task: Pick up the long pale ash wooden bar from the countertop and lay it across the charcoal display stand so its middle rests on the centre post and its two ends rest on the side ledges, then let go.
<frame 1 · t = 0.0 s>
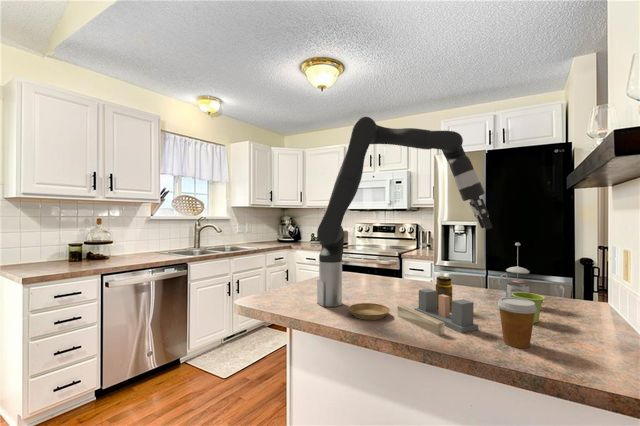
hand: (486, 228, 114), 31 cm above the worktop, tool tilted 20°, fingers open, 8 cm apart
french press: (514, 305, 130), on the worktop
plant pot: (527, 321, 111), on the worktop
plant saucer: (368, 316, 117), on the worktop
ash bar: (419, 325, 107), on the worktop
condiment: (442, 309, 125), on the worktop
disposable coffee cup: (516, 344, 92), on the worktop
display stand: (443, 320, 111), on the worktop
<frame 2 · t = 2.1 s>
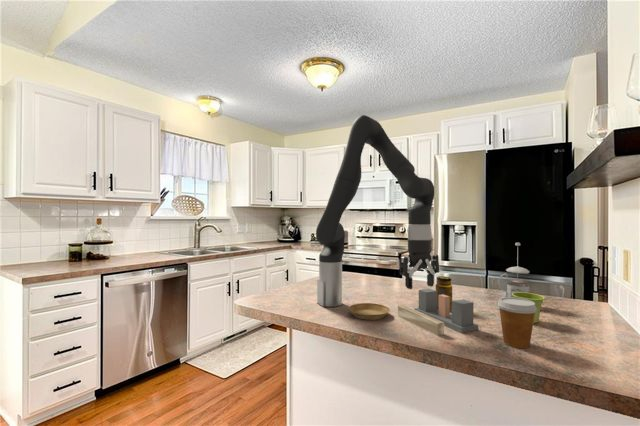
hand: (419, 287, 107), 12 cm above the worktop, tool pointing down, fingers open, 8 cm apart
nothing on the worktop moved.
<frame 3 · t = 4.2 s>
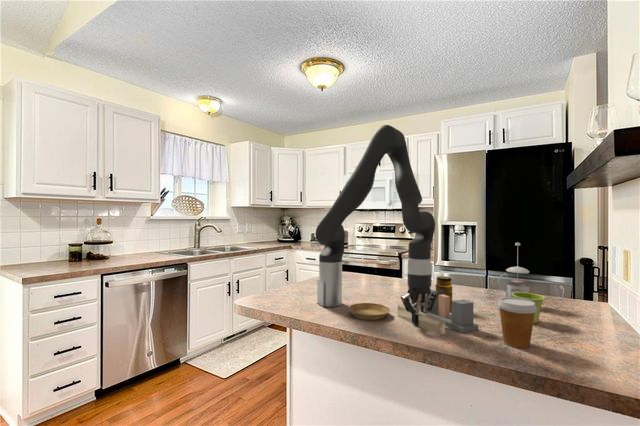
hand: (419, 324, 107), 0 cm above the worktop, tool pointing down, fingers closed on ash bar, 2 cm apart
ash bar: (419, 325, 107), on the worktop, touching gripper
everything else where it was.
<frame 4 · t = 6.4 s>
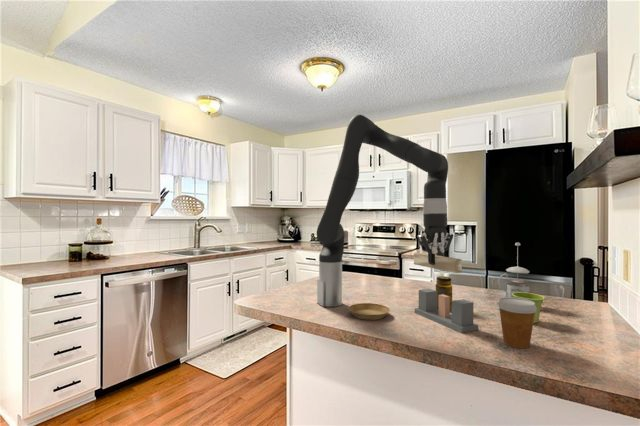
hand: (435, 263, 109), 20 cm above the worktop, tool pointing down, fingers closed on ash bar, 2 cm apart
ash bar: (435, 267, 109), point 18 cm above the worktop, touching gripper
everything else where it was.
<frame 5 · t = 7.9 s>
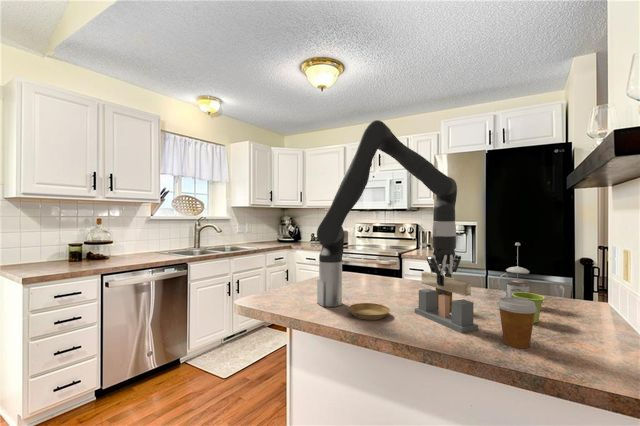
hand: (444, 285, 111), 12 cm above the worktop, tool pointing down, fingers closed on ash bar, 2 cm apart
ash bar: (444, 288, 111), point 11 cm above the worktop, touching gripper
everything else where it was.
when the fingers open (11 cm above the worktop, at t = 8.9 s): ash bar stays where it is, resting on display stand.
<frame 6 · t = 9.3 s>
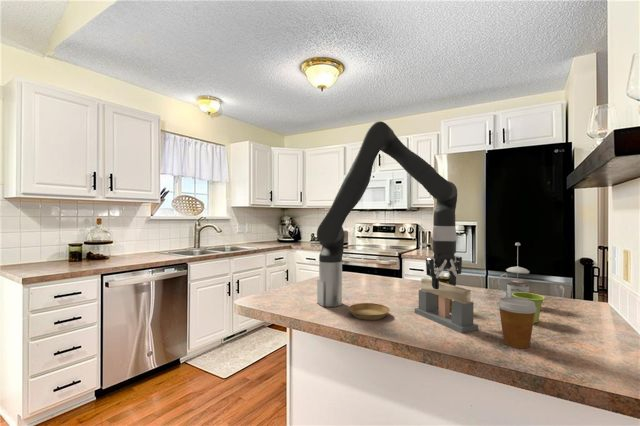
hand: (444, 287, 111), 11 cm above the worktop, tool pointing down, fingers open, 6 cm apart
ash bar: (443, 295, 111), point 8 cm above the worktop, touching display stand
everything else where it was.
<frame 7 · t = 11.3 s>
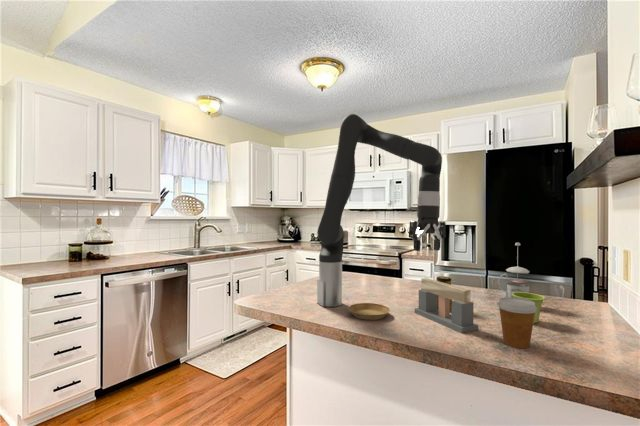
hand: (426, 250, 115), 23 cm above the worktop, tool pointing down, fingers open, 8 cm apart
nothing on the worktop moved.
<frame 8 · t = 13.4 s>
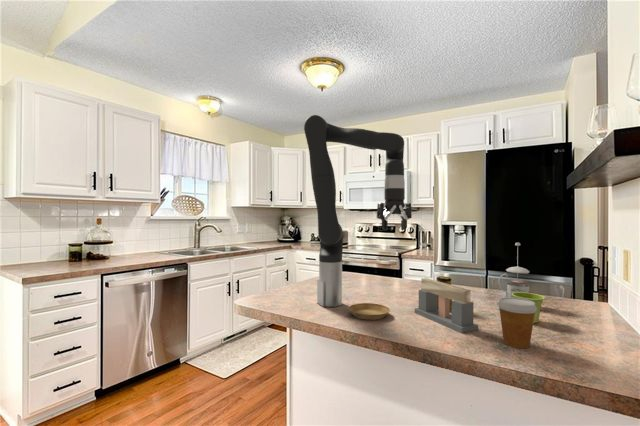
hand: (394, 230, 125), 30 cm above the worktop, tool pointing down, fingers open, 8 cm apart
nothing on the worktop moved.
at the end: ash bar 0.1 cm off-centre on the display stand, point 8.5 cm above the display stand's base; ash bar tilted 0°; the gripper is holding nothing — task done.
